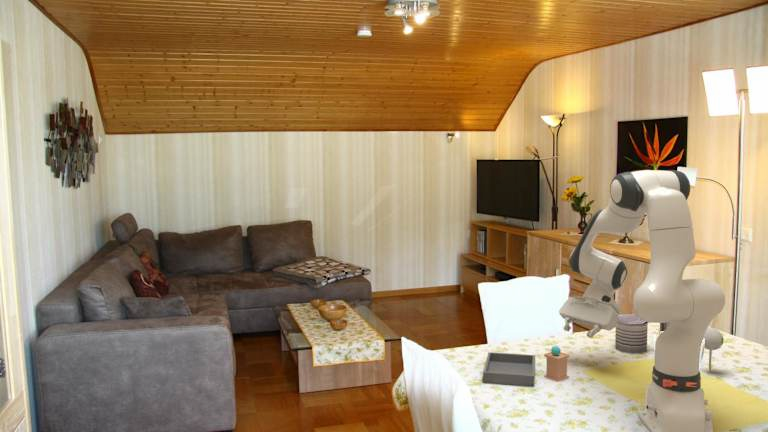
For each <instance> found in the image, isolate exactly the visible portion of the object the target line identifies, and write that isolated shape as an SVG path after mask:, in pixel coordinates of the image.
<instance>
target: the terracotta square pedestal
mask: <svg viewBox="0 0 768 432" xmlns="http://www.w3.org/2000/svg"><path fill="white" fill-rule="evenodd" d="M543 357H546V370H545V371H546V374H544V376H543V377H544V378H547V379H549V380H553V381H556V382H561V381H563V380H567V379H568V378H570V376H569V375H568V359H569V358H570V354H568V353H564V352H562V351H561V352H560V354H559V355H553V354H552V352H551V351H549V352H546V353H544V356H543Z"/></svg>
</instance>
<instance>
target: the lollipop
mask: <svg viewBox="0 0 768 432" xmlns="http://www.w3.org/2000/svg"><path fill="white" fill-rule="evenodd" d="M703 338H705V348H704V349H706V350H708V351H709V352H708V353H709V354H708V373H709V374H711V371H712V354H713V353H712V352H713V351H716V350H718V349H720V348H721V347H722V346H723V344H724V336H723V334H722V332H720V330H718V329H716V328H714V327H708V328H707V330H706V332H705V334H704V337H703Z"/></svg>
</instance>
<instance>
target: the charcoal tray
mask: <svg viewBox="0 0 768 432" xmlns="http://www.w3.org/2000/svg"><path fill="white" fill-rule="evenodd" d="M535 375H536V355H535V354H522V353H505V352H504V353H503V352H490V351H489V352H487V356H486V361H485V364H484V367H483V371H482V382H483V383H484V384H490V385H491V384H493V385H494V384H495V385H507V386H520V387H535ZM483 383H482V384H483Z"/></svg>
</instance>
